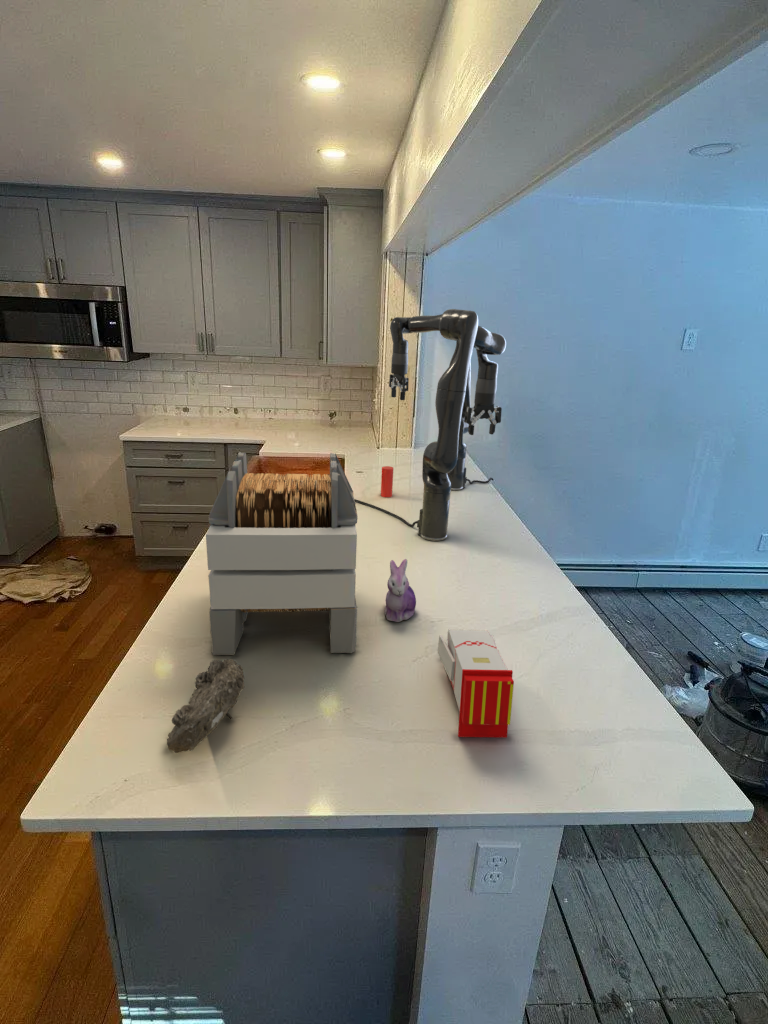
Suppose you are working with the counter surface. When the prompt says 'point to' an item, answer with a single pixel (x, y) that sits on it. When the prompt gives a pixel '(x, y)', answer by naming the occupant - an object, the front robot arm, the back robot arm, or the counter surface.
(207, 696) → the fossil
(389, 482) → the canister
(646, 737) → the counter surface
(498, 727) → the toy
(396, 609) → the figurine
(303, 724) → the counter surface
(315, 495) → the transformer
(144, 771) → the counter surface
